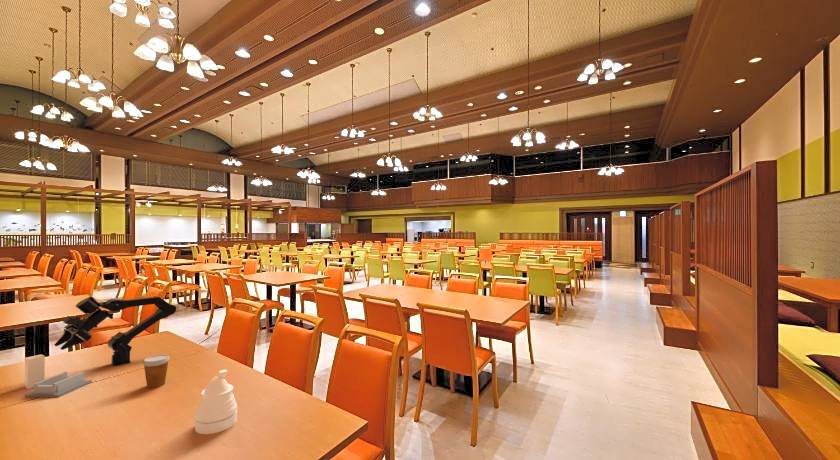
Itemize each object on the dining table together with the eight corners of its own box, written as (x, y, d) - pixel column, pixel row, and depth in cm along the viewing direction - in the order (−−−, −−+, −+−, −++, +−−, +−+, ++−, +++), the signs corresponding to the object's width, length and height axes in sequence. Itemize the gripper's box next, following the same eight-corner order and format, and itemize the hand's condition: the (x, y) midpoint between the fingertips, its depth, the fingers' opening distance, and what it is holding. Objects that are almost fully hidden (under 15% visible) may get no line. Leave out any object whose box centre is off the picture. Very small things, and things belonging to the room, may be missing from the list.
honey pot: (228, 410, 130) (229, 363, 130) (243, 422, 122) (243, 371, 122) (189, 424, 120) (190, 373, 120) (202, 438, 112) (203, 383, 112)
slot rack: (61, 382, 154) (61, 371, 154) (91, 382, 154) (92, 371, 154) (24, 396, 140) (25, 384, 140) (58, 397, 140) (59, 384, 140)
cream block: (41, 382, 154) (41, 354, 154) (44, 384, 151) (44, 356, 152) (24, 386, 149) (25, 357, 150) (27, 388, 147) (28, 359, 147)
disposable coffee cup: (174, 380, 156) (175, 354, 156) (156, 390, 146) (157, 362, 146) (155, 379, 157) (155, 353, 157) (136, 389, 147) (136, 361, 147)
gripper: (73, 307, 168) (36, 333, 158) (85, 312, 158) (47, 340, 148) (92, 321, 174) (58, 347, 164) (105, 327, 164) (70, 355, 154)
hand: (58, 347), depth 157 cm, fingers open, 9 cm apart
